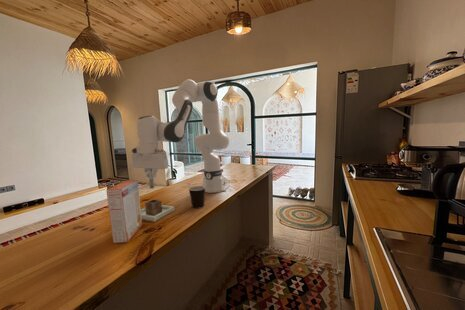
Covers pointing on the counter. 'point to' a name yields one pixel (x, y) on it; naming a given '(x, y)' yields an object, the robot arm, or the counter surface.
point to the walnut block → (153, 207)
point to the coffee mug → (197, 196)
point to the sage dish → (165, 211)
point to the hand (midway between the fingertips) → (151, 177)
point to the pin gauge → (150, 178)
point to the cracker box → (124, 210)
